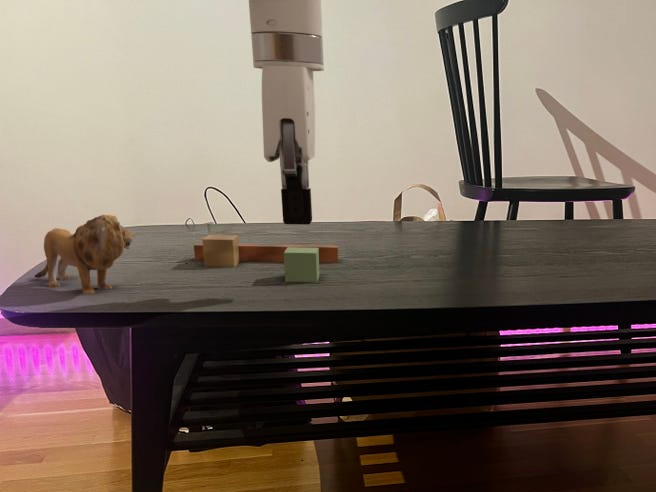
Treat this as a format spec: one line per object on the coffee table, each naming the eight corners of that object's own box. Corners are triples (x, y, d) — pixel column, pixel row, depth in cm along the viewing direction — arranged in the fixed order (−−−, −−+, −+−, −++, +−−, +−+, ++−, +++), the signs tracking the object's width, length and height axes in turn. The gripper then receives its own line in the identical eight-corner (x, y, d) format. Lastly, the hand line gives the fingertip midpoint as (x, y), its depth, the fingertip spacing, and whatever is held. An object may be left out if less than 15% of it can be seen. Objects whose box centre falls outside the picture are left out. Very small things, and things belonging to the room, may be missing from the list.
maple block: (204, 268, 96) (202, 239, 95) (210, 262, 100) (208, 234, 99) (234, 268, 97) (232, 239, 95) (240, 263, 100) (238, 235, 99)
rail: (195, 262, 99) (193, 245, 99) (197, 260, 101) (195, 243, 100) (338, 264, 102) (337, 247, 102) (338, 262, 104) (338, 245, 103)
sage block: (285, 283, 89) (283, 252, 88) (288, 277, 93) (287, 247, 92) (317, 284, 90) (316, 252, 88) (319, 277, 93) (318, 247, 92)
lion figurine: (147, 291, 82) (138, 214, 80) (110, 300, 78) (99, 218, 75) (54, 277, 87) (43, 204, 84) (14, 285, 82) (0, 208, 79)
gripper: (263, 59, 83) (273, 214, 89) (240, 47, 69) (255, 233, 75) (327, 61, 84) (333, 215, 90) (318, 50, 70) (326, 233, 76)
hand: (297, 223), depth 83 cm, fingers closed
